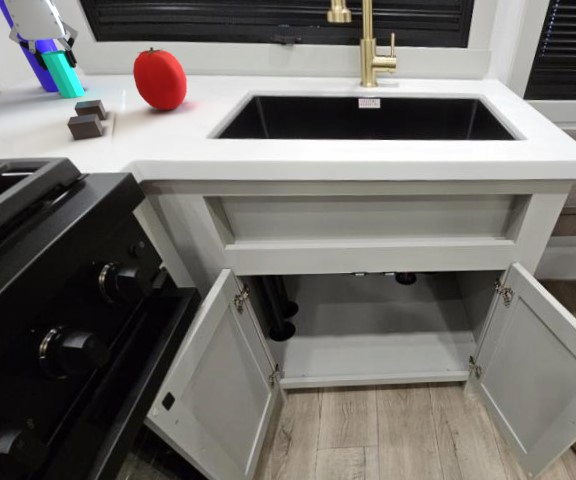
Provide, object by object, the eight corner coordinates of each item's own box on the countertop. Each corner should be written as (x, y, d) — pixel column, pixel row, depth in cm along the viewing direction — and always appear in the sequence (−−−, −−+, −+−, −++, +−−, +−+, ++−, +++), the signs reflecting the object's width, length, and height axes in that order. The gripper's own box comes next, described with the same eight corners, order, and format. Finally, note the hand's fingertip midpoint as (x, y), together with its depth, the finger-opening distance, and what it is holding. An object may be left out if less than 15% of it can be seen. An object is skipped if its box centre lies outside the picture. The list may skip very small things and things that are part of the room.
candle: (72, 91, 97) (49, 43, 89) (89, 92, 96) (68, 44, 88) (56, 97, 93) (31, 47, 84) (74, 98, 92) (50, 48, 83)
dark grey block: (77, 144, 67) (66, 124, 65) (80, 136, 71) (70, 116, 68) (103, 140, 69) (94, 120, 66) (105, 132, 72) (96, 113, 69)
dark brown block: (83, 126, 75) (74, 108, 72) (85, 120, 78) (76, 102, 76) (106, 123, 76) (98, 105, 74) (108, 117, 80) (100, 99, 77)
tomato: (136, 109, 83) (113, 48, 74) (178, 98, 90) (162, 41, 81) (159, 119, 78) (137, 55, 69) (202, 106, 84) (188, 46, 76)
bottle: (39, 89, 99) (-35, -47, 79) (67, 83, 104) (4, -46, 84) (51, 93, 95) (-23, -48, 75) (80, 87, 100) (17, -47, 80)
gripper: (62, -20, 82) (96, 62, 94) (-20, -18, 78) (27, 68, 90) (57, -19, 77) (94, 67, 89) (-31, -17, 72) (20, 74, 85)
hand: (60, 67), depth 89 cm, fingers closed on candle, 6 cm apart
